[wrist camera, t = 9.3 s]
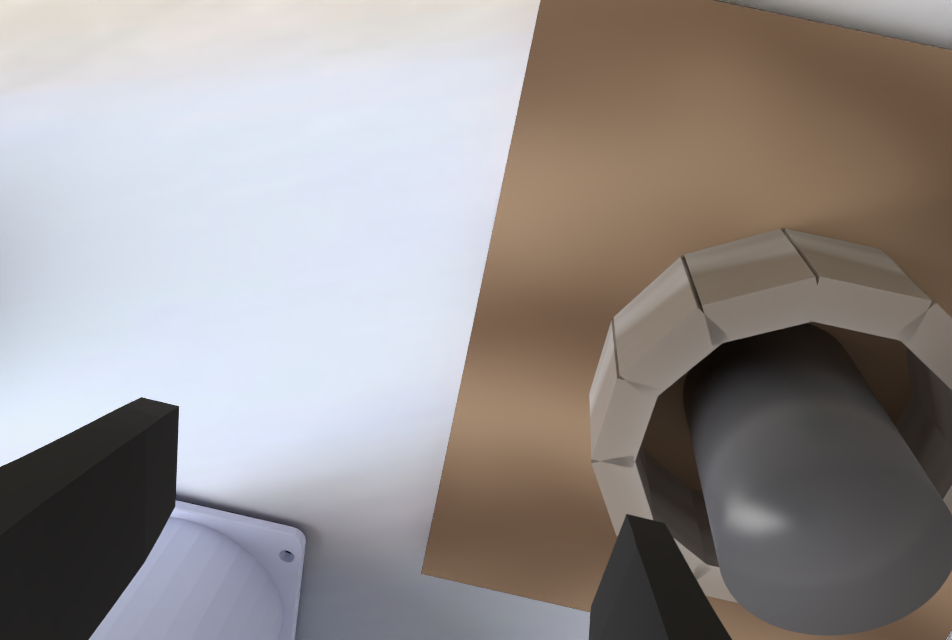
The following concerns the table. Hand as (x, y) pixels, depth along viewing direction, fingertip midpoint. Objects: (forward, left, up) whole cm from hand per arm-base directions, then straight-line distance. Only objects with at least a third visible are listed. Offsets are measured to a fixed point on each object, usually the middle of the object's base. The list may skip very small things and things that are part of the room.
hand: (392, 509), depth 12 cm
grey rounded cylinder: (-1, -9, -9) cm, 12 cm away
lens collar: (-1, -8, -10) cm, 13 cm away
